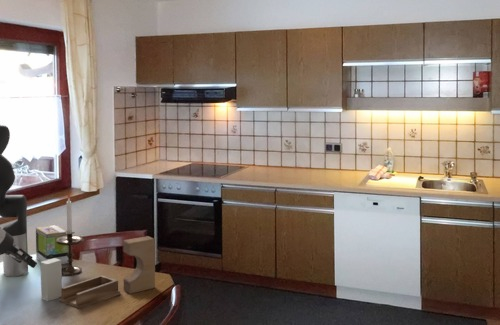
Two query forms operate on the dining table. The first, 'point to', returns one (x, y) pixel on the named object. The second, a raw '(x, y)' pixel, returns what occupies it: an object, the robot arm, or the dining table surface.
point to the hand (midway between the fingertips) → (28, 263)
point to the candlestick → (70, 243)
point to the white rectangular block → (51, 279)
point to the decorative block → (140, 264)
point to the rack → (90, 291)
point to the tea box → (50, 244)
